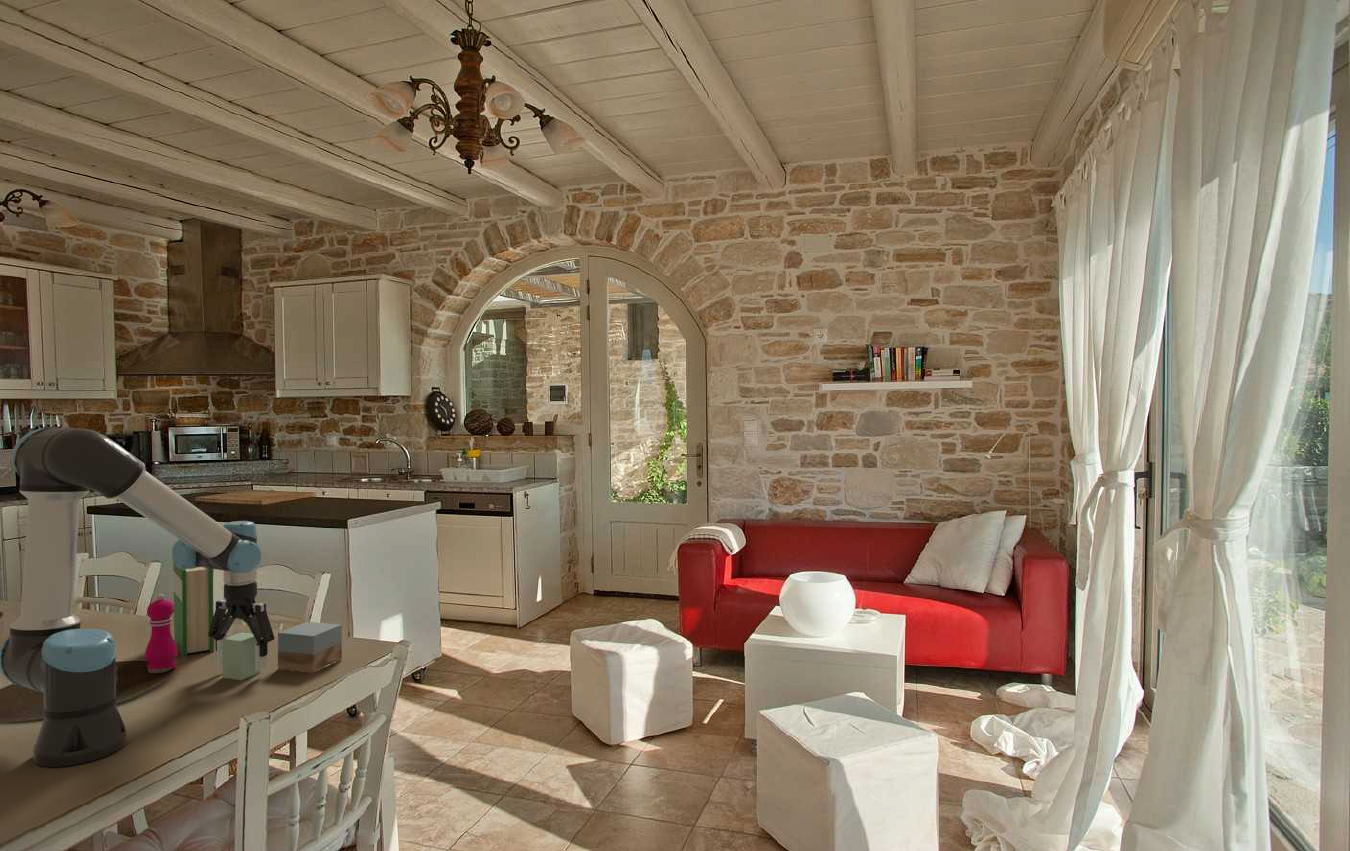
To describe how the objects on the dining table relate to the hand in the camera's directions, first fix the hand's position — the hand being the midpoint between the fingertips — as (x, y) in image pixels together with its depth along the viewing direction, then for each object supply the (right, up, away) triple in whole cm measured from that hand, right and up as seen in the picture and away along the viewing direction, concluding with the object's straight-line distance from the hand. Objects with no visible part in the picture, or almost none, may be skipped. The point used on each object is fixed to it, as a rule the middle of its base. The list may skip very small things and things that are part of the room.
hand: (241, 666), depth 205 cm
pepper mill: (-23, -2, +4) cm, 23 cm away
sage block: (0, -2, 0) cm, 2 cm away
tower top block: (+14, +3, +8) cm, 16 cm away
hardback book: (-26, -2, +23) cm, 35 cm away
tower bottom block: (+14, -2, +8) cm, 16 cm away
